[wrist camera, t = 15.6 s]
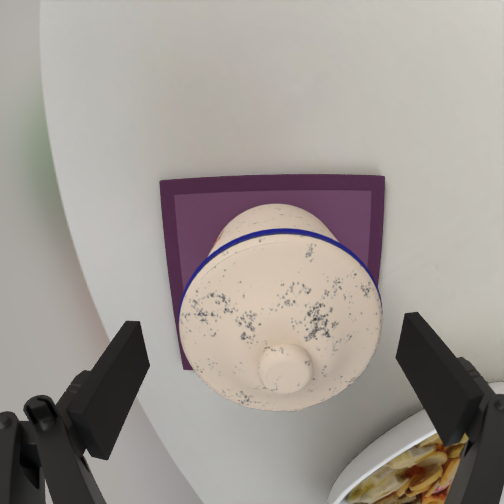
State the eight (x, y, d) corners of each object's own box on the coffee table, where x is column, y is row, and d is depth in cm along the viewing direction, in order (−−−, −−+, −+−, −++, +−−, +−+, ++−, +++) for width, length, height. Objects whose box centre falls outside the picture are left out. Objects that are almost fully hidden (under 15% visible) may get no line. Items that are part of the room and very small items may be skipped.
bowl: (327, 526, 35) (331, 564, 28) (313, 416, 27) (324, 483, 19) (491, 470, 32) (506, 500, 25) (548, 333, 24) (586, 366, 16)
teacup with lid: (194, 213, 21) (122, 280, 10) (332, 188, 20) (410, 230, 9) (233, 363, 24) (216, 488, 13) (348, 344, 23) (392, 462, 12)
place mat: (184, 365, 25) (183, 370, 25) (161, 180, 21) (158, 181, 20) (364, 361, 25) (366, 365, 24) (382, 175, 20) (385, 176, 20)
